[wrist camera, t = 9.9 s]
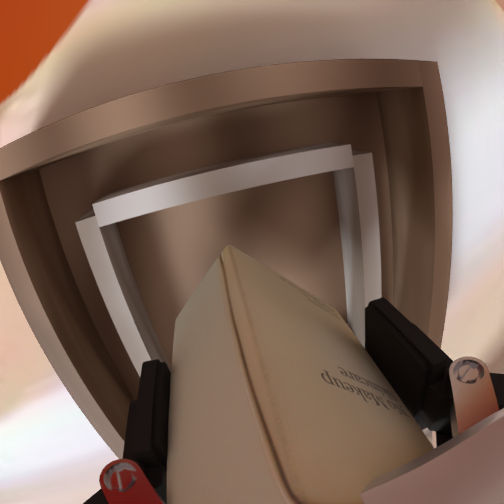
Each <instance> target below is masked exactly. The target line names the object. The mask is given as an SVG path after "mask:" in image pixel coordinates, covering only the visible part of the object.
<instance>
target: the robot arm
mask: <svg viewBox="0 0 504 504" xmlns="http://www.w3.org/2000/svg"><path fill="white" fill-rule="evenodd" d="M365 350H366V351H367V352H368V354H369V355H370V357H371V358H372V359H373V361H374V362H375V364H376V365H377V366H378V368H379V369H380V371H381V372H382V374H383V375H384V376H385V378H386V379H387V381H388V382H389V383H390V385H391V386H392V388H393V389H394V391H395V392H396V393H397V395H398V396H399V398H400V399H401V401H402V402H403V403H404V405H405V406H406V408H407V409H408V411H409V412H410V413H411V415H412V416H413V418H414V419H415V421H416V422H417V424H418V425H419V427H420V428H421V429H422V431H423V432H424V434H425V435H426V437H427V438H428V440H429V441H430V443H431V444H432V446H433V447H434V448H435V449H433V450H431V451H429V452H428V453H426V454H424V455H422V456H420V457H418V458H416V459H414V460H412V461H410V462H408V463H406V464H404V465H402V466H400V467H398V468H396V469H394V470H392V471H389V472H387V473H385V474H383V475H380V476H378V477H376V478H374V479H372V480H371V482H370V483H369V484H368V485H367V486H366V487H365V488H364V490H363V491H362V492H361V493H360V495H361V498H362V500H363V502H364V504H504V374H496V373H489V371H488V368H487V366H486V364H485V363H484V362H483V361H481V360H479V359H478V358H475V357H461V358H458V359H456V360H455V361H454V362H453V361H452V360H451V359H450V358H449V357H448V356H447V355H446V354H445V353H444V352H443V351H442V350H441V349H440V348H439V347H438V346H437V345H436V344H435V343H434V342H433V341H432V340H431V339H430V338H429V337H428V336H427V335H426V334H425V333H424V332H422V331H421V330H420V329H419V328H418V327H417V326H416V325H415V324H413V323H411V322H410V321H409V320H408V319H407V318H406V317H405V316H404V315H403V314H402V313H401V312H399V311H398V310H397V309H396V308H395V307H394V306H393V305H392V304H391V303H390V302H389V301H388V300H387V299H385V298H384V297H382V298H379V299H376V300H373V301H370V302H369V304H368V306H367V307H365ZM170 380H171V373H170V371H169V369H168V366H167V364H166V363H165V362H160V360H159V359H155V360H150V361H145V362H143V364H142V369H141V376H140V383H139V390H138V398H137V399H136V400H132V401H131V402H130V405H129V412H128V419H127V426H126V434H125V442H124V451H123V459H118V460H115V461H112V462H111V463H109V464H108V465H106V466H105V468H104V469H103V470H102V472H101V474H100V479H99V482H100V486H101V489H100V490H99V491H98V492H97V493H95V494H94V495H93V496H92V497H90V498H89V499H88V500H87V501H86V502H84V503H83V504H167V451H168V417H169V398H170Z"/></svg>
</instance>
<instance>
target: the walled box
mask: <svg viewBox="0 0 504 504" xmlns="http://www.w3.org/2000/svg"><path fill="white" fill-rule="evenodd" d="M227 245H231V246H233V247H235V248H237V249H238V250H240V251H242V252H244V253H245V254H247V255H249V256H250V257H252V258H254V259H255V260H257V261H259V262H260V263H262V264H263V265H265V266H267V267H268V268H270V269H272V270H273V271H275V272H277V273H278V274H280V275H282V276H283V277H285V278H287V279H288V280H290V281H291V282H293V283H295V284H296V285H298V286H299V287H301V288H303V289H304V290H306V291H307V292H309V293H311V294H312V295H314V296H315V297H317V298H318V299H320V300H322V301H323V302H325V303H326V304H328V305H329V306H331V307H333V308H334V309H336V310H337V311H338V313H339V314H340V315H341V317H342V318H343V320H344V321H345V322H346V324H347V325H348V326H349V328H350V329H351V330H352V332H353V333H354V335H355V336H356V337H357V339H358V340H359V341H360V343H361V344H362V346H363V347H364V348H365V307H367V306H368V304H369V302H370V301H373V300H376V299H379V298H382V297H384V298H385V299H387V300H388V301H389V302H390V303H391V304H392V305H393V306H394V307H395V308H396V309H397V310H398V311H399V312H401V313H402V314H403V315H404V316H405V317H406V318H407V319H408V320H409V321H410V322H411V323H413V324H415V325H416V326H417V327H418V328H419V329H420V330H421V331H422V332H424V333H425V334H426V335H427V336H428V337H429V338H430V339H431V340H432V341H433V342H434V343H435V344H436V345H437V346H438V347H439V348H441V342H442V336H443V330H444V323H445V316H446V309H447V300H448V291H449V280H450V268H451V252H452V174H451V158H450V146H449V135H448V126H447V118H446V111H445V104H444V97H443V91H442V85H441V80H440V75H439V69H438V65H437V62H432V61H419V60H400V59H339V60H320V61H306V62H295V63H285V64H276V65H268V66H260V67H253V68H246V69H240V70H234V71H228V72H223V73H217V74H212V75H207V76H202V77H198V78H193V79H189V80H184V81H180V82H176V83H172V84H168V85H164V86H160V87H157V88H153V89H149V90H146V91H142V92H139V93H135V94H132V95H129V96H126V97H122V98H119V99H116V100H113V101H110V102H107V103H104V104H101V105H99V106H96V107H93V108H90V109H87V110H85V111H82V112H79V113H77V114H74V115H72V116H69V117H67V118H64V119H62V120H59V121H57V122H55V123H52V124H50V125H48V126H45V127H43V128H41V129H39V130H36V131H34V132H32V133H30V134H28V135H26V136H24V137H21V138H19V139H17V140H15V141H13V142H11V143H9V144H7V145H5V146H3V147H2V148H0V260H1V263H2V265H3V268H4V270H5V273H6V275H7V278H8V280H9V283H10V285H11V287H12V289H13V292H14V294H15V296H16V298H17V301H18V303H19V305H20V307H21V309H22V311H23V313H24V315H25V317H26V319H27V321H28V323H29V325H30V327H31V329H32V331H33V333H34V335H35V337H36V339H37V340H38V342H39V344H40V346H41V348H42V349H43V351H44V353H45V355H46V356H47V358H48V360H49V362H50V363H51V365H52V367H53V368H54V370H55V372H56V373H57V375H58V376H59V378H60V380H61V381H62V383H63V384H64V386H65V387H66V389H67V390H68V392H69V393H70V395H71V396H72V398H73V399H74V401H75V402H76V404H77V405H78V407H79V408H80V409H81V411H82V412H83V414H84V415H85V416H86V418H87V419H88V420H89V422H90V423H91V424H92V426H93V427H94V428H95V430H96V431H97V432H98V434H99V435H100V436H101V437H102V439H103V440H104V441H105V442H106V444H107V445H108V446H109V447H110V449H111V450H112V451H113V452H114V453H115V455H116V456H117V457H118V458H119V459H123V451H124V442H125V434H126V426H127V419H128V412H129V405H130V402H131V401H132V400H136V399H137V398H138V390H139V383H140V376H141V369H142V364H143V362H145V361H150V360H155V359H159V360H160V362H165V363H166V364H167V366H168V369H169V371H170V373H171V367H172V354H173V342H174V331H175V321H176V318H177V317H178V315H179V314H180V312H181V310H182V309H183V307H184V306H185V304H186V303H187V301H188V300H189V298H190V297H191V295H192V294H193V292H194V291H195V290H196V288H197V287H198V285H199V284H200V282H201V281H202V279H203V278H204V276H205V275H206V273H207V272H208V271H209V269H210V268H211V266H212V265H213V264H214V262H215V261H216V260H217V258H218V257H219V255H220V254H221V253H222V251H223V250H224V248H225V247H226V246H227Z"/></svg>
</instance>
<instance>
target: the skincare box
mask: <svg viewBox="0 0 504 504" xmlns="http://www.w3.org/2000/svg"><path fill="white" fill-rule="evenodd" d="M433 449H435V448H434V447H433V446H432V444H431V443H430V441H429V440H428V438H427V437H426V435H425V434H424V432H423V431H422V429H421V428H420V427H419V425H418V424H417V422H416V421H415V419H414V418H413V416H412V415H411V413H410V412H409V411H408V409H407V408H406V406H405V405H404V403H403V402H402V401H401V399H400V398H399V396H398V395H397V393H396V392H395V391H394V389H393V388H392V386H391V385H390V383H389V382H388V381H387V379H386V378H385V376H384V375H383V374H382V372H381V371H380V369H379V368H378V366H377V365H376V364H375V362H374V361H373V359H372V358H371V357H370V355H369V354H368V352H367V351H366V350H365V348H364V347H363V346H362V344H361V343H360V341H359V340H358V339H357V337H356V336H355V335H354V333H353V332H352V330H351V329H350V328H349V326H348V325H347V324H346V322H345V321H344V320H343V318H342V317H341V315H340V314H339V313H338V311H337V310H336V309H334V308H333V307H331V306H329V305H328V304H326V303H325V302H323V301H322V300H320V299H318V298H317V297H315V296H314V295H312V294H311V293H309V292H307V291H306V290H304V289H303V288H301V287H299V286H298V285H296V284H295V283H293V282H291V281H290V280H288V279H287V278H285V277H283V276H282V275H280V274H278V273H277V272H275V271H273V270H272V269H270V268H268V267H267V266H265V265H263V264H262V263H260V262H259V261H257V260H255V259H254V258H252V257H250V256H249V255H247V254H245V253H244V252H242V251H240V250H238V249H237V248H235V247H233V246H231V245H227V246H226V247H225V248H224V250H223V251H222V253H221V254H220V255H219V257H218V258H217V260H216V261H215V262H214V264H213V265H212V266H211V268H210V269H209V271H208V272H207V273H206V275H205V276H204V278H203V279H202V281H201V282H200V284H199V285H198V287H197V288H196V290H195V291H194V292H193V294H192V295H191V297H190V298H189V300H188V301H187V303H186V304H185V306H184V307H183V309H182V310H181V312H180V314H179V315H178V317H177V318H176V321H175V331H174V342H173V354H172V367H171V380H170V398H169V417H168V451H167V504H364V502H363V500H362V498H361V495H360V493H361V492H362V491H363V490H364V488H365V487H366V486H367V485H368V484H369V483H370V482H371V480H372V479H374V478H376V477H378V476H380V475H383V474H385V473H387V472H389V471H392V470H394V469H396V468H398V467H400V466H402V465H404V464H406V463H408V462H410V461H412V460H414V459H416V458H418V457H420V456H422V455H424V454H426V453H428V452H429V451H431V450H433Z"/></svg>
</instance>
